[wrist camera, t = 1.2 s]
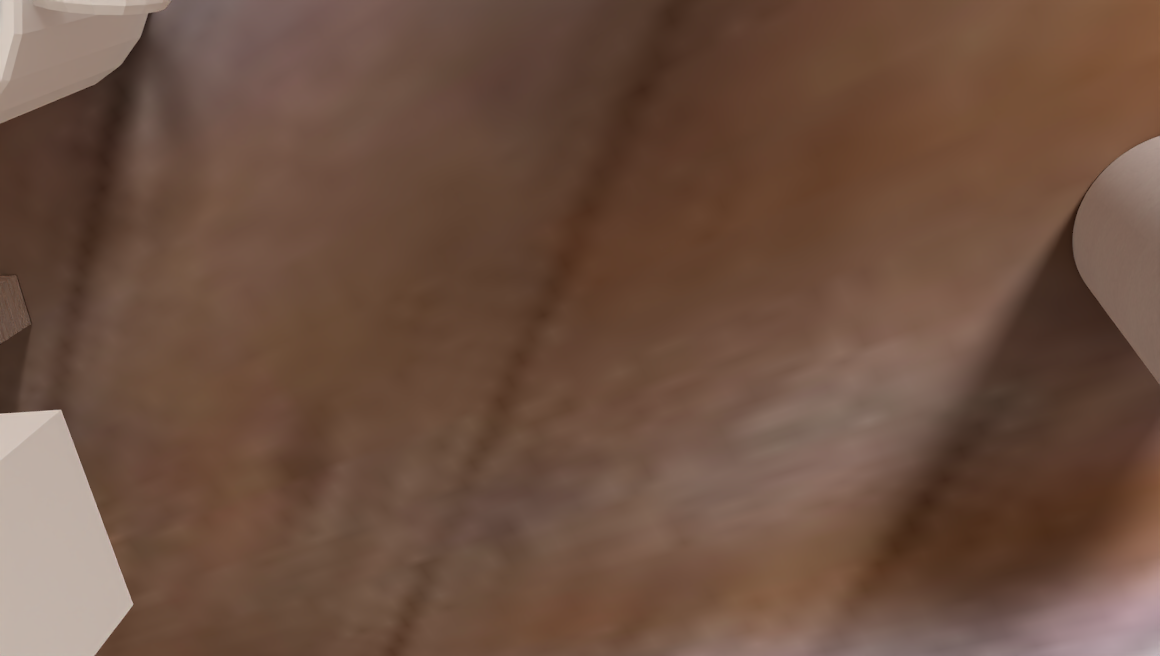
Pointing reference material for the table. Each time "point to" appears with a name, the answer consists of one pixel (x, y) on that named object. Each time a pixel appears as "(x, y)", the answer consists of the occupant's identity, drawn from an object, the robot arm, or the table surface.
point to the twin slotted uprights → (11, 308)
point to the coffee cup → (1125, 247)
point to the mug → (63, 47)
